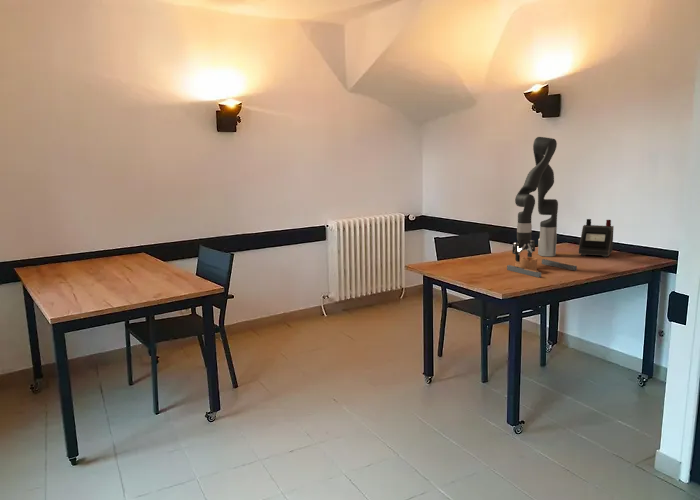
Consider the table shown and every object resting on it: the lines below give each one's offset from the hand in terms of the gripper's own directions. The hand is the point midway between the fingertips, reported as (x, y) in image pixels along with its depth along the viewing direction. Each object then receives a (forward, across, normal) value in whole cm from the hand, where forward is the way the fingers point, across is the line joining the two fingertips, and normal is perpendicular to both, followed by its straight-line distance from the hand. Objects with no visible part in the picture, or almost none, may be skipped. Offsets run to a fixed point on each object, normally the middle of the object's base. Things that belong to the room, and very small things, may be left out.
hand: (523, 260), depth 300 cm
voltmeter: (+3, -56, +1) cm, 56 cm away
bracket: (+4, +4, +6) cm, 8 cm away
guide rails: (+3, 0, +12) cm, 13 cm away
